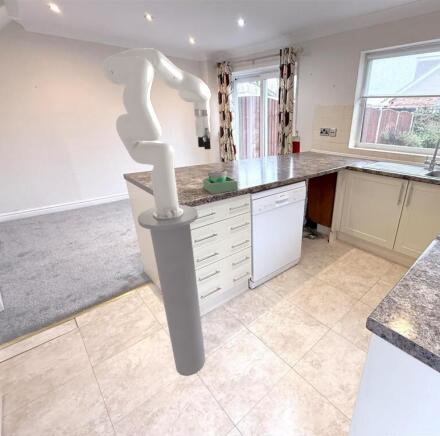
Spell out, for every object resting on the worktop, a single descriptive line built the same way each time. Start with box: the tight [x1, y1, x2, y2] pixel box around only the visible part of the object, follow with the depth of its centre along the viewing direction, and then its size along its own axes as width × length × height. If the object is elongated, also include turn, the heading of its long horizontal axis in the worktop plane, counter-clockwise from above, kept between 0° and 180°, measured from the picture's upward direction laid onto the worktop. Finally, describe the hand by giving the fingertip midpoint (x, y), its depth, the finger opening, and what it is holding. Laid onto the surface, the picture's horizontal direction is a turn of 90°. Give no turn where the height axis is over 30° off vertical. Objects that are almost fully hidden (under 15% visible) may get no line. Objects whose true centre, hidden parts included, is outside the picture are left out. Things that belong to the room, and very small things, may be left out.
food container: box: [207, 169, 228, 184], centre depth 146 cm, size 12×6×10 cm, turn 137°
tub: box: [202, 175, 239, 195], centre depth 148 cm, size 13×17×6 cm
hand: (204, 148), depth 133 cm, fingers open, 9 cm apart
